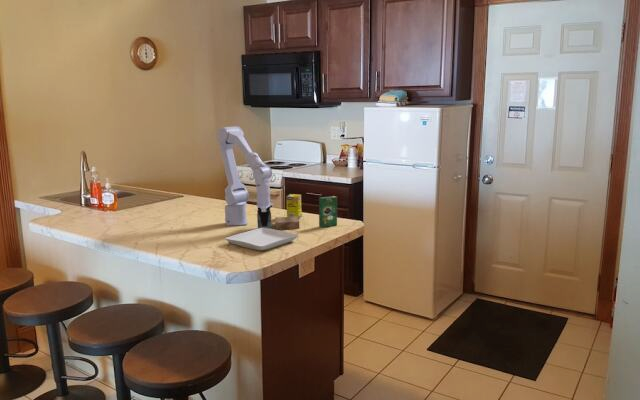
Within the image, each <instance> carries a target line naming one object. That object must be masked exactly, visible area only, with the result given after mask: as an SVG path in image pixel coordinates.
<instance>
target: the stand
mask: <svg viewBox="0 0 640 400" xmlns="http://www.w3.org/2000/svg"><path fill="white" fill-rule="evenodd" d="M275 228H276V229H275V230H292V229H293V230H295V229H300V218H299V219H298V216H297V217H287V216H282V217H281V216H278V217H277V216H276V217H275Z"/></svg>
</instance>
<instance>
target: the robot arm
mask: <svg viewBox="0 0 640 400" xmlns="http://www.w3.org/2000/svg"><path fill="white" fill-rule="evenodd" d="M216 136H217V141H218V145H219V146H218V147H219V150H220V154H221V160H222V163H223V167H224V171H225V176H226V180H227V184H228V185H227V186H226V187H225V188H224V199H225V202H226V204H225V205H224V214H225V216H224V217H225V218H224V221H225V226H227V227H228V226H230V227H231V226H247V225H248V221H249V220H248V219H247V206H246V205H247V203H248V201H249V198H250V194H249V192H248V190H247V188H246V187H247V186H246V185H245V184H243V182H241V181H240V175H239V171H238V168H237V167H238V166H237V163H236V162H237V161H236V158H235V154H234V151H233V148H234V146H235V145H236V146H237V147H238V148H239V150H240V151H241V152H242V154H243V155H244V156H245V159H244V160H245V162H246V163H247V165H248V166H249V168H250V169H251V171H252V178H253V179H254V183H255V187H256V188H255V189H256V207H257V211H256V212H257V213H258V214H259V216H260V219H261V224H262V226H267V224H268V217H269V214H270V212H271V210H270V209H271V206H274V203H271V189H270V188H271V187H270V179H271V177H272V175H273V171H272V168H271V166H269V165H267V164H266V163H264V162H263V161H262V159H261V158H260V156H259V154H258V153H257V152H254V151H252V149H251V147H250V145H249V144H248V142H247V140H246V138H245V137H244V136H245V135H244V131H243V129H242V128H241V127H240V126H238V125H233V126H221V127H219V129H218V131H217V132H216Z"/></svg>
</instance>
